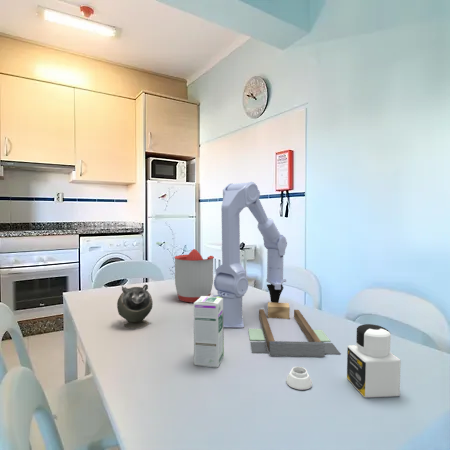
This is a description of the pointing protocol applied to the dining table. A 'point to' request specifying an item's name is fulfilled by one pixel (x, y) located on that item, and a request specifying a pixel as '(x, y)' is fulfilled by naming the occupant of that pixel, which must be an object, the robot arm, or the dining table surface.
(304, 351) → the trap bay
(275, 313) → the oak block
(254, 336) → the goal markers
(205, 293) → the citrus juicer
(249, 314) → the dining table surface
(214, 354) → the syrup box
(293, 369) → the lidless jar
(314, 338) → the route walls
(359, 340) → the medicine bottle
